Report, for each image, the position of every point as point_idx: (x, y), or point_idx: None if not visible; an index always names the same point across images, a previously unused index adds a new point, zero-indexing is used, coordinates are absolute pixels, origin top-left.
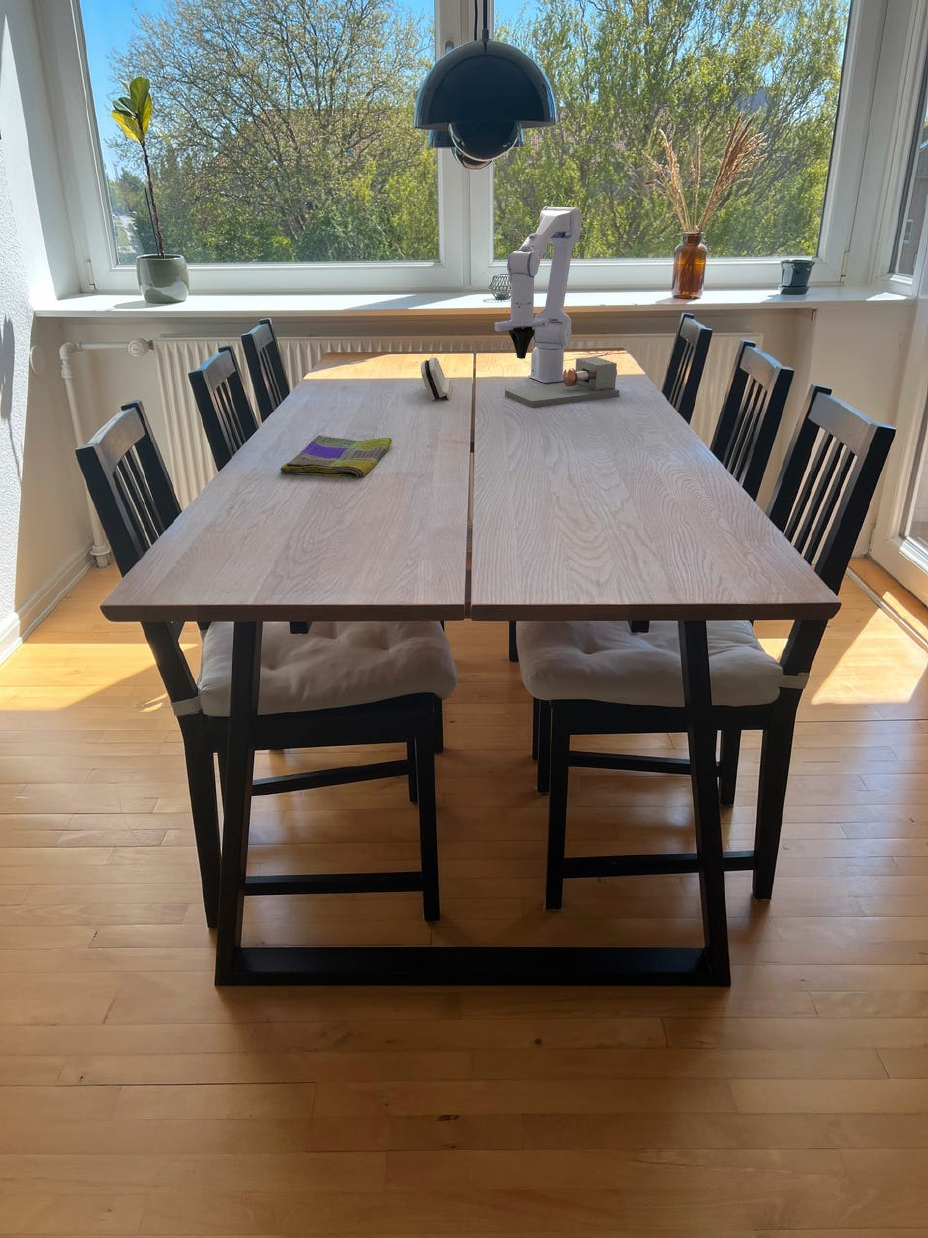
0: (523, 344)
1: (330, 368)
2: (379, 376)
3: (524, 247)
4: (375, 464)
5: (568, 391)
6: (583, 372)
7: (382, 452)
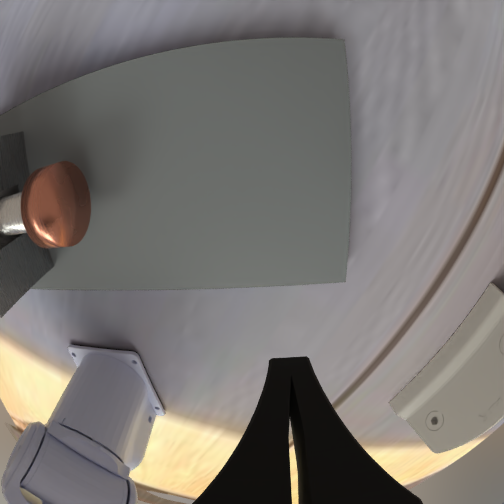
0: (311, 436)
1: (431, 474)
2: (426, 453)
3: None
4: None
5: (101, 151)
6: (4, 209)
7: None
